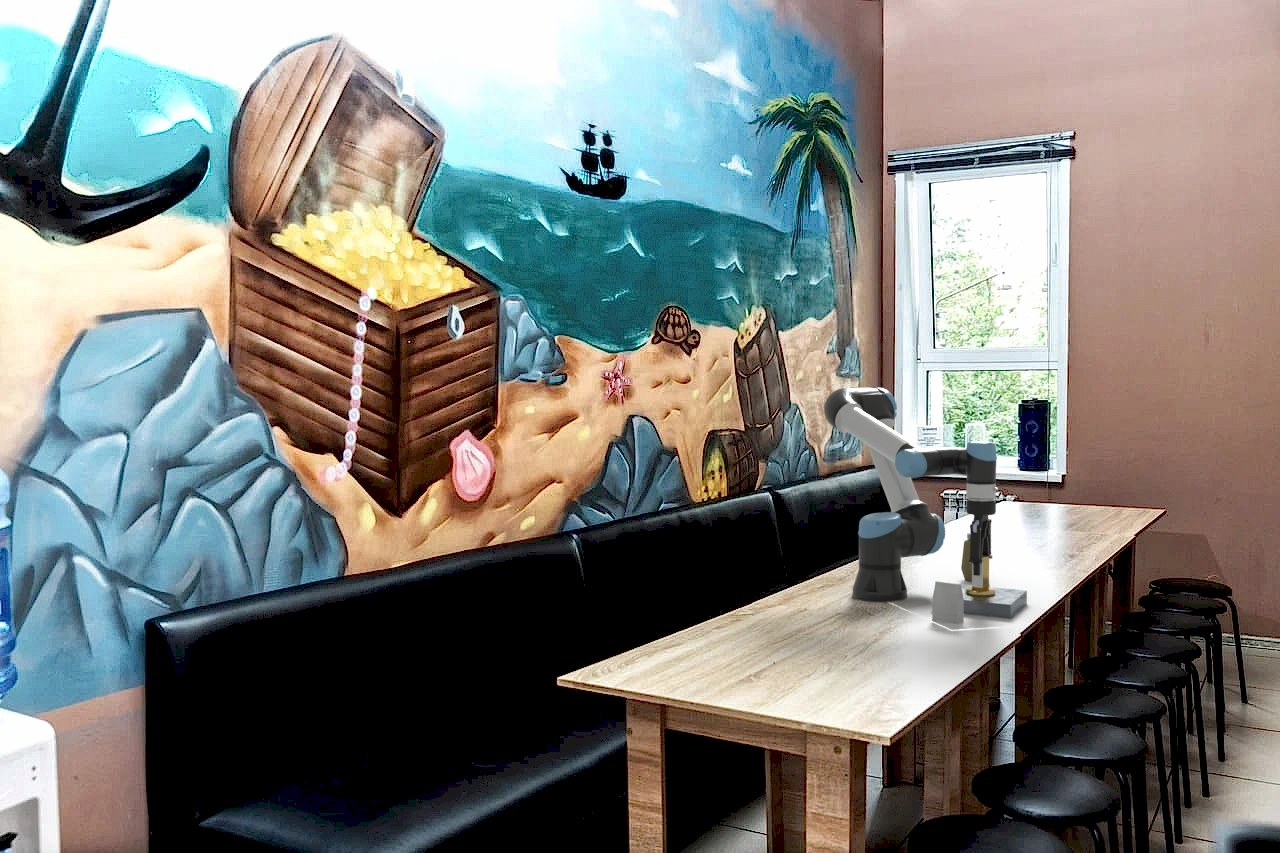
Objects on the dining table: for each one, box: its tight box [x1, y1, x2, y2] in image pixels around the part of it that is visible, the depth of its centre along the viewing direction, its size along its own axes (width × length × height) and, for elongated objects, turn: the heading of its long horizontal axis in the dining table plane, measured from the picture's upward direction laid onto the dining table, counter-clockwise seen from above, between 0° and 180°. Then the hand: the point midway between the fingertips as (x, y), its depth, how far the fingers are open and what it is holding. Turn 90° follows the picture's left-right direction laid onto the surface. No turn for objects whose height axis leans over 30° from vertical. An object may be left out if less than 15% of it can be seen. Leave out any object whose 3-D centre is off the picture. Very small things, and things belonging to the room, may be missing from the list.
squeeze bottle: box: [960, 532, 972, 583], centre depth 329 cm, size 8×8×18 cm
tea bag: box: [931, 580, 965, 624], centre depth 277 cm, size 4×7×10 cm, turn 51°
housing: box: [960, 583, 1028, 620], centre depth 292 cm, size 20×20×4 cm
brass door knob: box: [966, 555, 995, 597], centre depth 292 cm, size 8×8×14 cm
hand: (980, 584), depth 292 cm, fingers open, 6 cm apart
